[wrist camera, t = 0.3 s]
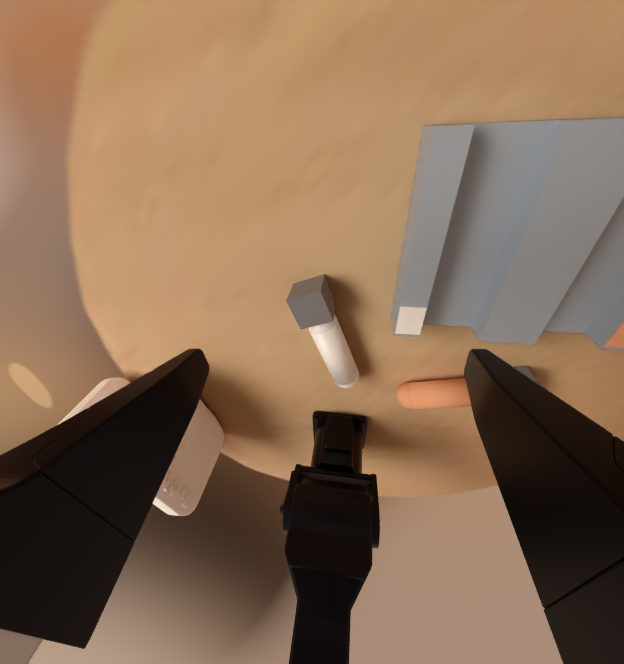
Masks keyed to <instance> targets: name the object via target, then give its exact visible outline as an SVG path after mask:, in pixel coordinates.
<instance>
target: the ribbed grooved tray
mask: <svg viewBox="0 0 624 664" xmlns="http://www.w3.org/2000/svg"><path fill="white" fill-rule="evenodd" d="M391 317H392V324H393V332H394V336H406V337H420V334H421V330H422V326H423V324H429V325H447V326H465V327H471V328H472V330H473V332H474V334H475V336H476V337H477V339H478V341H484V342H500V343H516V344H531V345H535V343H536V342H537V340H538V338H539V337H540V335H541V333H542V332H543V331H552V332H570V333H585V334H586V335H587V336H588V337H589V338H590V339H591V340H592V341H593V342H594V343H595V344H596V345H597V346H598V347H599V348H600V349H610V350H624V117H613V118H589V119H565V120H541V121H517V122H494V123H470V124H446V125H424V126H423V132H422V138H421V144H420V149H419V155H418V161H417V167H416V173H415V179H414V185H413V191H412V197H411V202H410V208H409V214H408V220H407V226H406V232H405V238H404V244H403V250H402V256H401V261H400V267H399V273H398V279H397V285H396V291H395V297H394V303H393V309H392V314H391Z"/></svg>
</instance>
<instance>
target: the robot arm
mask: <svg viewBox="0 0 624 664" xmlns="http://www.w3.org/2000/svg"><path fill="white" fill-rule="evenodd" d="M208 373H209V364H208V362H207V360H206V358H205V355H204V353H203V351H202V350H201V349H188V350H186V351H185V352H183V353H181V354H180V355H178V356H176V357H174V358H173V359H171V360H169V361H167V362H166V363H164V364H162V365H161V366H159V367H157V368H155V369H154V370H152V371H150V372H148V373H147V374H145V375H143V376H142V377H140V378H138V379H136V380H135V381H133V382H131V383H130V384H128V385H126V386H124V387H123V388H121V389H119V390H117V391H116V392H114V393H112V394H111V395H109V396H107V397H105V398H104V399H102V400H100V401H98V402H97V403H95V404H93V405H92V406H90V407H89V408H86V409H85V410H83V411H81V412H79V413H78V414H76V415H74V416H72V417H71V418H69V419H67V420H65V421H64V422H62V423H60V424H58V425H57V426H55V427H53V428H51V429H49V430H47V431H45V432H44V433H42V434H40V435H38V436H36V437H34V438H32V439H31V440H28V441H27V442H25V443H23V444H21V445H19V446H17V447H15V448H13V449H11V450H9V451H8V452H6V453H4V454H2V455H0V664H28V663H29V661H30V660H31V658H32V657H33V655H34V653H35V652H36V650H37V649H38V647H39V645H40V644H41V642H42V641H43V639H45V640H49V641H53V642H57V643H62V644H66V645H70V646H74V647H78V648H82V649H84V648H85V647H86V645H87V644H88V642H89V640H90V638H91V636H92V634H93V632H94V629H95V627H96V625H97V623H98V621H99V619H100V616H101V614H102V612H103V610H104V608H105V605H106V603H107V601H108V599H109V597H110V595H111V593H112V590H113V588H114V586H115V584H116V582H117V580H118V577H119V575H120V573H121V571H122V569H123V566H124V564H125V562H126V560H127V558H128V556H129V553H130V551H131V549H132V547H133V545H134V541H135V540H136V538H137V536H138V534H139V532H140V529H141V527H142V525H143V523H144V521H145V518H146V516H147V514H148V512H149V510H150V508H151V506H152V503H153V501H154V499H155V497H156V495H157V493H158V491H159V488H160V486H161V484H162V482H163V480H164V478H165V475H166V473H167V471H168V469H169V467H170V465H171V462H172V460H173V458H174V456H175V454H176V452H177V449H178V447H179V445H180V443H181V441H182V439H183V436H184V434H185V432H186V430H187V428H188V426H189V423H190V421H191V419H192V417H193V415H194V413H195V410H196V408H197V405H198V403H199V400H200V397H201V394H202V391H203V388H204V385H205V382H206V379H207V376H208ZM464 375H465V380H466V385H467V389H468V393H469V398H470V402H471V406H472V411H473V415H474V419H475V422H476V425H477V428H478V431H479V434H480V437H481V439H482V442H483V445H484V448H485V450H486V453H487V456H488V458H489V461H490V464H491V467H492V469H493V472H494V475H495V478H496V480H497V483H498V486H499V488H500V491H501V494H502V497H503V499H504V502H505V505H506V508H507V510H508V513H509V516H510V518H511V521H512V524H513V527H514V529H515V532H516V535H517V538H518V540H519V543H520V546H521V548H522V551H523V554H524V557H525V559H526V562H527V565H528V567H529V570H530V573H531V576H532V579H533V581H534V584H535V587H536V590H537V592H538V595H539V598H540V600H541V603H542V606H543V607H544V608H545V609H544V612H545V615H546V617H547V620H548V623H549V626H550V628H551V631H552V634H553V637H554V639H555V642H556V644H557V648H558V650H559V653H560V655H561V658H562V661H563V664H624V441H622V440H621V439H619V438H618V437H616V436H614V437H613V435H612V433H610V432H609V431H607V430H606V429H604V428H603V427H601V426H600V425H598V424H597V423H595V422H594V421H592V420H591V419H589V418H588V417H586V416H585V415H583V414H582V413H580V412H579V411H578V410H576V409H575V408H573V407H572V406H570V405H569V404H567V403H566V402H564V401H563V400H561V399H560V398H558V397H557V396H555V395H554V394H552V393H551V392H549V391H548V390H546V389H545V388H543V387H542V386H540V385H539V384H537V383H536V382H534V381H533V380H531V379H530V378H529V377H527V376H526V375H524V374H523V373H521V372H520V371H518V370H517V369H515V368H514V367H512V366H511V365H509V364H508V363H506V362H505V361H503V360H502V359H500V358H499V357H497V356H496V355H494V354H493V353H491V352H490V351H488V350H486V349H472V350H470V352H469V354H468V358H467V362H466V365H465V369H464ZM366 429H367V418H366V417H363V416H354V415H344V414H335V413H325V412H314V413H313V431H314V449H313V455H312V461H311V467H309V466H301V465H300V464H296V467H295V470H294V471H292V473H291V477H290V482H289V486H288V489H287V492H286V494H285V497H284V499H283V502H282V504H281V507H280V513H281V515H282V517H283V532H284V533H287V538H286V545H285V554H286V558H287V562H288V566H289V569H290V573H291V577H292V581H293V585H294V588H295V592H296V596H297V607H296V616H295V622H294V630H293V637H292V644H291V652H290V659H289V664H349V642H350V613H351V612H350V611H351V609H352V607H353V605H354V603H355V600H356V598H357V596H358V594H359V592H360V590H361V588H362V586H363V584H364V582H365V580H366V578H367V576H368V574H369V571H370V570H371V567H372V548H378V546H379V534H380V524H379V523H380V518H379V503H378V491H377V479H376V474H371V475H369V474H362V449H363V448H364V442H365V435H366Z"/></svg>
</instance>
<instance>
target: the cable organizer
mask: <svg viewBox="0 0 624 664" xmlns="http://www.w3.org/2000/svg"><path fill="white" fill-rule="evenodd" d="M154 369H155V368H154ZM154 369H152V370H154ZM152 370H150V371H152ZM150 371H149V372H150ZM130 383H131V382H129V381H127V380H125V379H123V378H110V379H105V380H103V381H102V382H100V383H99V384H98V385H97V386H96V387H95V388H94V389H93V390H92V391H91V392H90V393H89V394H88V395H87V396H86V397H85V398H84V399H83V400H82V401H81V402H80V403H79V404H78V405H77V406H76V407H75V408H74V409H73V410H72V411H71V412H70V413H69V414H68V415H67V416H66V417H65V418H64V419H63V420H62V421H61V422H60V423H62V422H64V421H65V420H67V419H69V418H71V417H72V416H74V415H76V414H78V413H79V412H81V411H83V410H85V409H86V408H89V407H90V406H92V405H93V404H95V403H97V402H98V401H100V400H102V399H104V398H105V397H107V396H109V395H111V394H112V393H114V392H116V391H117V390H119V389H121V388H123V387H124V386H126V385H128V384H130ZM60 423H59V424H60ZM223 444H224V433H223V430H222V427H221V426H220V424H219V422H218V420H217V419H216V418H215V416H214V415H213V414H212V412H211V411H210V410H209V409H208V408H207V407H206V406H205V405H204V403H203V402H202V401H201V399H200V400H199V403H198V405H197V408H196V410H195V413H194V415H193V417H192V419H191V421H190V423H189V426H188V428H187V430H186V432H185V434H184V436H183V439H182V441H181V443H180V445H179V447H178V449H177V452H176V454H175V456H174V458H173V460H172V462H171V465H170V467H169V469H168V471H167V473H166V475H165V478H164V480H163V482H162V484H161V486H160V488H159V491H158V493H157V495H156V497H155V499H154V501H153V504H154V505H156V506H157V507H159V508H160V509H161V510H162V511H164V512H165V513H167V514H169V515H178V516H186V515H189V514H190V513H191V512H193V511H194V509H195V508H196V506H197V504H198V502H199V499H200V497H201V495H202V492H203V490H204V488H205V486H206V483H207V481H208V479H209V476H210V474H211V472H212V469H213V467H214V465H215V463H216V460H217V458H218V456H219V454H220V451H221V449H222V447H223Z"/></svg>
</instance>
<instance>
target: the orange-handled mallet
mask: <svg viewBox="0 0 624 664" xmlns="http://www.w3.org/2000/svg"><path fill="white" fill-rule="evenodd" d="M514 368H515V369H517V370H518V371H520V372H521V373H523V374H524V375H526V376H527V377H529V378H530V379H531V380H533V381H534V382H536V383H537V384H539V383H538V382H537V380H536V379H535V377H534V376H533V374H532V373H531V371H530V370H529V368H528V367H527V366H519V367H514ZM397 399H398V401H399V403H400V404H401V405H402V406H403V407H405V408H407V409H429V408H446V407H464V406H471V402H470V398H469V393H468V389H467V385H466V380H465V378H458V379H446V380H434V381H423V382H411V383H405V384H403V385H401V386H400V387H399V389H398V391H397Z"/></svg>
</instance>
